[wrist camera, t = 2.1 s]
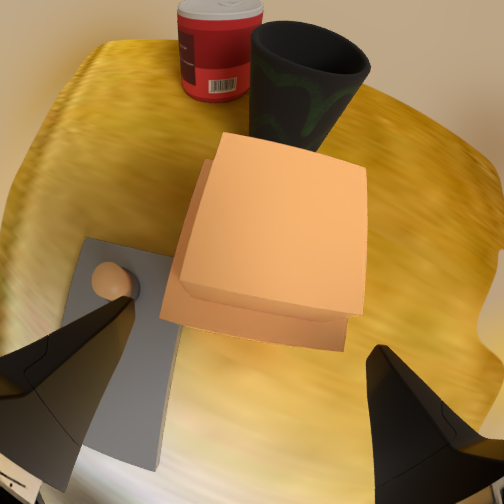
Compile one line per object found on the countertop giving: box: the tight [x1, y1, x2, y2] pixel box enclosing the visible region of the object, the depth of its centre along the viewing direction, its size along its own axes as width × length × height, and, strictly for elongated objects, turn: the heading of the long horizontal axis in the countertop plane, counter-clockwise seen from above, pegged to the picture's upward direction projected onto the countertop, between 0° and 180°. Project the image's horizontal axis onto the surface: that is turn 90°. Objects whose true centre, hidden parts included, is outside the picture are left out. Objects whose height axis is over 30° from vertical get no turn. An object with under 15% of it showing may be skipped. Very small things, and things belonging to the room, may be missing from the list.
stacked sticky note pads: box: [159, 132, 367, 352], centre depth 13 cm, size 7×7×13 cm
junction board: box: [61, 237, 183, 472], centre depth 15 cm, size 16×9×4 cm, turn 170°
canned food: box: [177, 0, 264, 103], centre depth 21 cm, size 8×8×11 cm
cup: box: [249, 21, 371, 153], centre depth 18 cm, size 8×8×12 cm
